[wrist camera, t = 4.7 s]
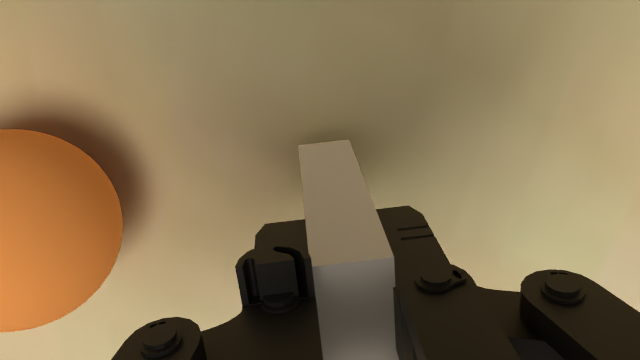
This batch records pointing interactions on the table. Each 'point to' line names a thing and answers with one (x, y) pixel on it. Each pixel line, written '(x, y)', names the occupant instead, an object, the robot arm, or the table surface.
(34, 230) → the ball
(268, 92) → the table surface
